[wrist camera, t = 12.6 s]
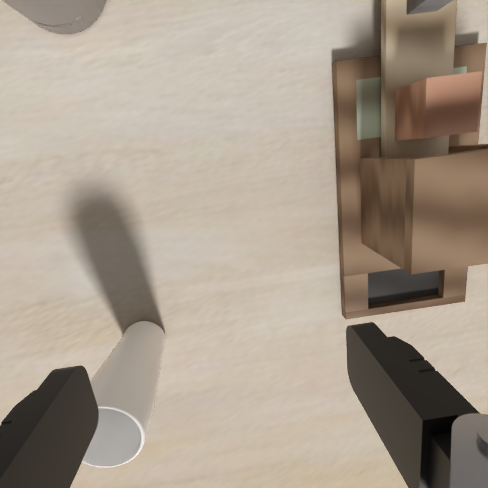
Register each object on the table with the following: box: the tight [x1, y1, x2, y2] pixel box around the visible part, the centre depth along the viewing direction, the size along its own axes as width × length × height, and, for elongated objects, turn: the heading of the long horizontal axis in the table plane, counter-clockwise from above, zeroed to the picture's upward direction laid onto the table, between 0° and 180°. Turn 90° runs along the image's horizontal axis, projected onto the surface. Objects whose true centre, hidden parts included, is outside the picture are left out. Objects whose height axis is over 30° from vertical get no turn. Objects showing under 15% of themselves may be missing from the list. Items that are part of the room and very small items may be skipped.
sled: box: [381, 0, 482, 158], centre depth 29 cm, size 21×7×8 cm, turn 7°
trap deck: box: [332, 43, 488, 319], centre depth 32 cm, size 30×16×11 cm, turn 7°
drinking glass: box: [82, 321, 166, 467], centre depth 33 cm, size 7×7×15 cm
